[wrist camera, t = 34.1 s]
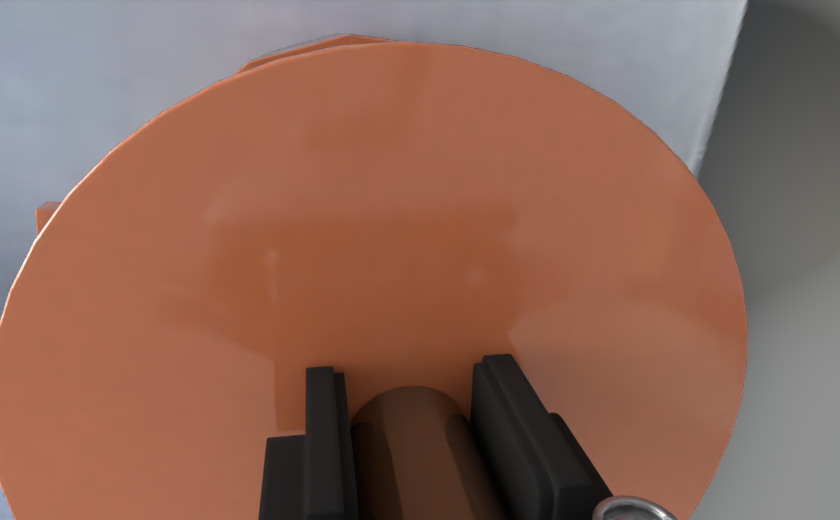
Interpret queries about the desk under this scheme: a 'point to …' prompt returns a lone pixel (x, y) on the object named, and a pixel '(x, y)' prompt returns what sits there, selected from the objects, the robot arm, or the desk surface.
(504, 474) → the robot arm
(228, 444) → the pot lid
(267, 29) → the desk surface
